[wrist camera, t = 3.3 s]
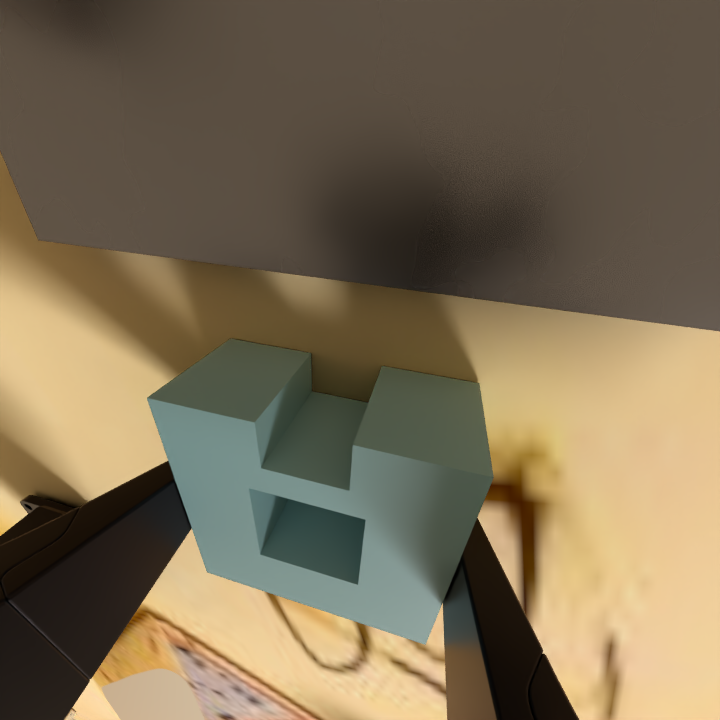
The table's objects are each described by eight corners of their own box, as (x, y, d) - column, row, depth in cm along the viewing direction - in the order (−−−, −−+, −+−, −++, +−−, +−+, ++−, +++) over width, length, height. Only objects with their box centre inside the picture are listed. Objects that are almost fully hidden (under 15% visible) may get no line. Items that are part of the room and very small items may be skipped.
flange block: (430, 542, 11) (425, 644, 9) (255, 494, 13) (207, 572, 10) (479, 383, 8) (493, 477, 5) (230, 338, 9) (146, 397, 7)
